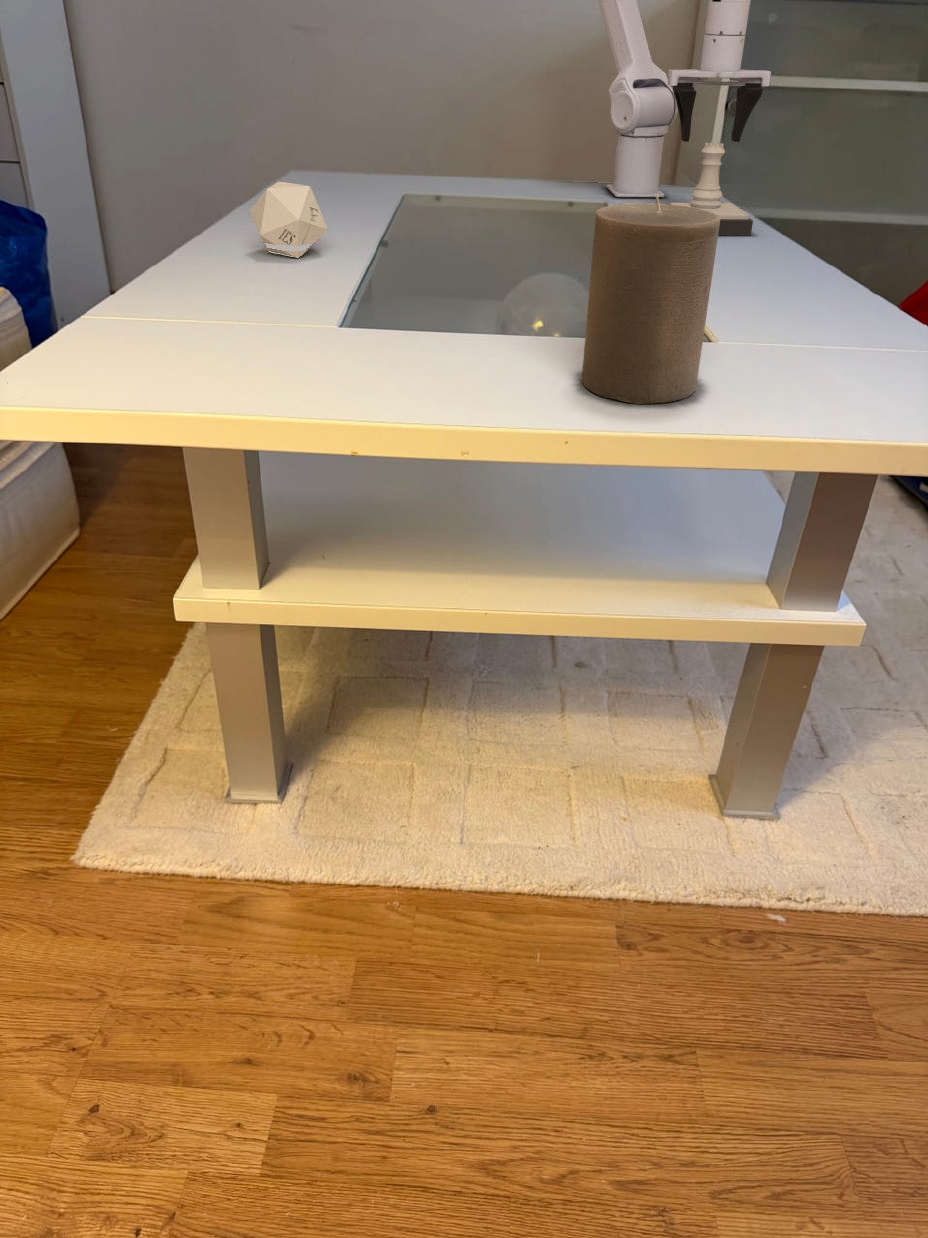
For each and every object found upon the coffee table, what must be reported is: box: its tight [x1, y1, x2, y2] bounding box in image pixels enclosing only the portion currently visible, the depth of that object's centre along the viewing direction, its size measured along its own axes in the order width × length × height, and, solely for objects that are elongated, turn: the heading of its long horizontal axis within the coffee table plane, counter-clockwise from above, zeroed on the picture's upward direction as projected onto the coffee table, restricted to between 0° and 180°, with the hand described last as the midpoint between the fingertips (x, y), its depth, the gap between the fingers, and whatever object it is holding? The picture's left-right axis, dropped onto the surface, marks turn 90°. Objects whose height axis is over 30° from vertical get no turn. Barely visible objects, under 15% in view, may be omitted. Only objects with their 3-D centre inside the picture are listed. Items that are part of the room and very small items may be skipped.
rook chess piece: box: [689, 142, 726, 209], centre depth 133 cm, size 4×4×8 cm
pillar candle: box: [581, 195, 720, 405], centre depth 77 cm, size 10×10×15 cm
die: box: [249, 181, 329, 258], centre depth 118 cm, size 8×9×10 cm
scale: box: [669, 202, 754, 237], centre depth 135 cm, size 10×10×3 cm
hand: (710, 140), depth 143 cm, fingers open, 7 cm apart
